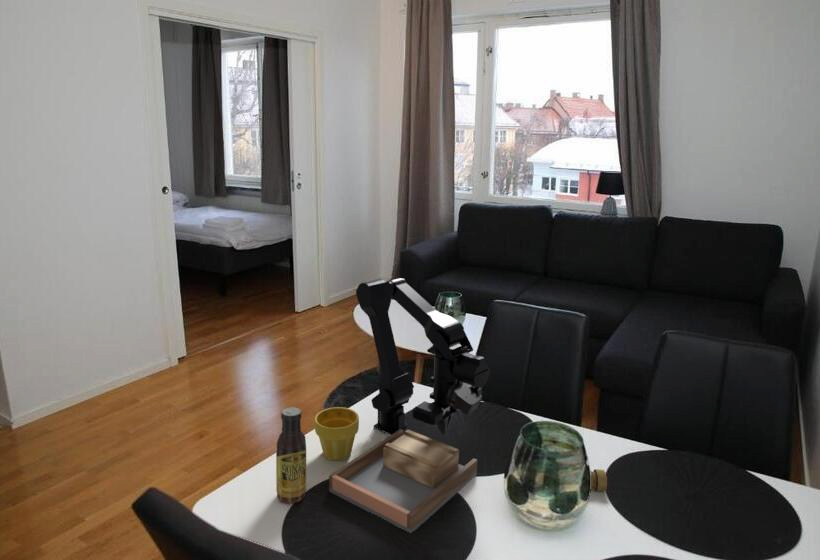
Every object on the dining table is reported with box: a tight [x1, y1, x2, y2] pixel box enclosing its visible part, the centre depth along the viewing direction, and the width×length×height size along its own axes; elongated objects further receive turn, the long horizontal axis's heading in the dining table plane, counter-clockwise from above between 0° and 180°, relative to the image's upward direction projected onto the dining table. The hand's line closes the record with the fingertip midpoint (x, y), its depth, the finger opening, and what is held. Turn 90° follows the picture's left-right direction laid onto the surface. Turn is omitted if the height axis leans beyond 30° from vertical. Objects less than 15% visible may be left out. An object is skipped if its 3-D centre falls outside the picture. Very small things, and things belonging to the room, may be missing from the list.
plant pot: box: [314, 406, 360, 462], centre depth 141 cm, size 10×10×10 cm
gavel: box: [589, 468, 608, 492], centre depth 138 cm, size 21×5×10 cm
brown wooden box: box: [383, 429, 460, 488], centre depth 135 cm, size 14×10×5 cm
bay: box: [328, 429, 478, 534], centre depth 131 cm, size 22×25×4 cm
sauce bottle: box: [275, 406, 307, 505], centre depth 123 cm, size 6×6×20 cm
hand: (443, 433), depth 142 cm, fingers closed
